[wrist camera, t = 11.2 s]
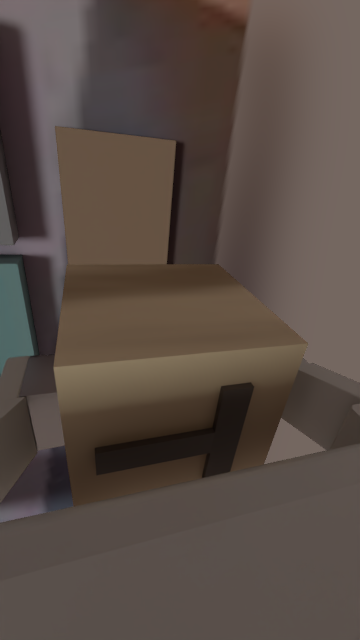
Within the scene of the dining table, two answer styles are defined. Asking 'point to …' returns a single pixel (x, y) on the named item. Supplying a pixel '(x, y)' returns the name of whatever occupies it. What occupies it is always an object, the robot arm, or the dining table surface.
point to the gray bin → (6, 205)
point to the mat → (115, 196)
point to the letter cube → (166, 376)
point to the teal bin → (15, 311)
